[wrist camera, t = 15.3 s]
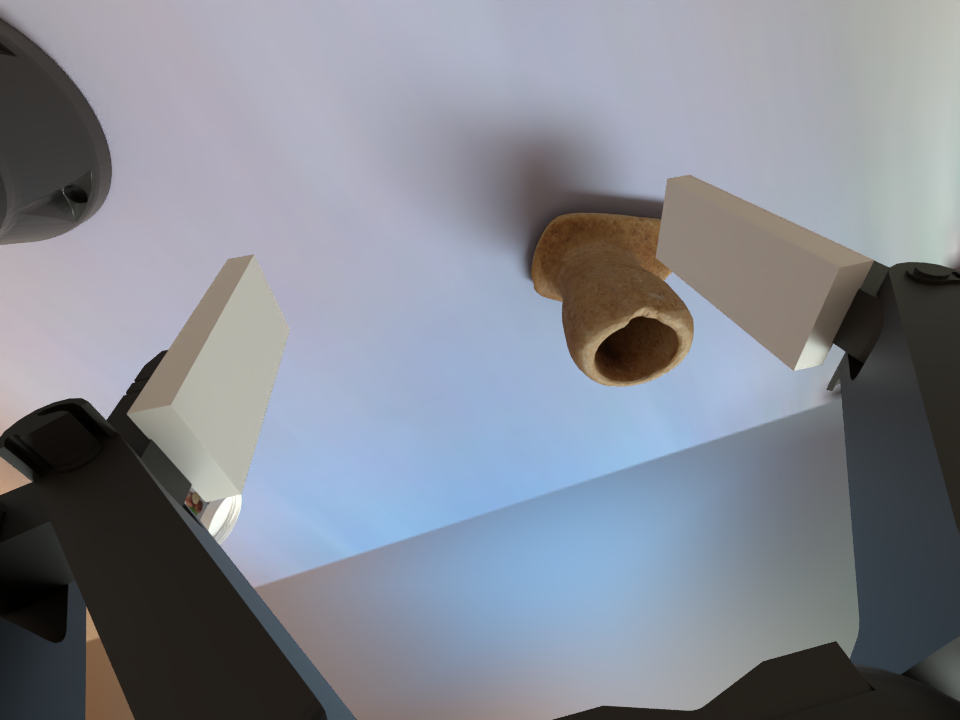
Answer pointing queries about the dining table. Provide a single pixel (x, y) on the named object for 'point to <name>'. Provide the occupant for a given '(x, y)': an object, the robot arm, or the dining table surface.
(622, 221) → the brown piece
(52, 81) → the robot arm
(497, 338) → the dining table surface
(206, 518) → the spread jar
